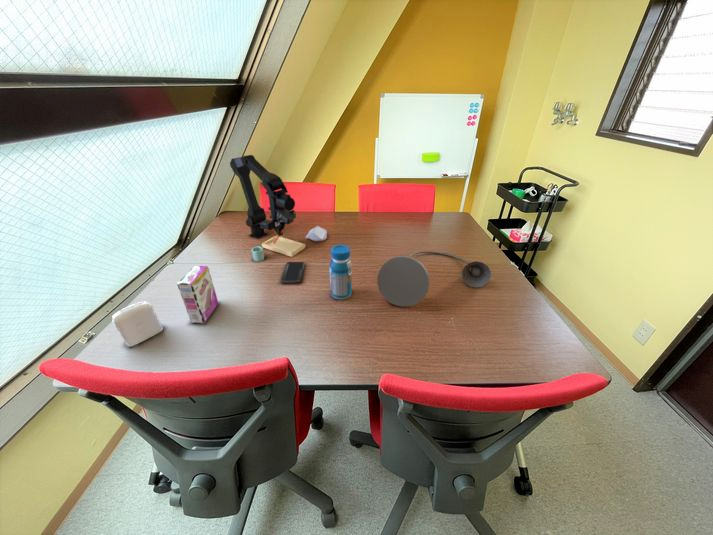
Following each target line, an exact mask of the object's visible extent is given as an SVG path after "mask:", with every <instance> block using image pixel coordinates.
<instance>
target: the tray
mask: <svg viewBox="0 0 713 535" xmlns="http://www.w3.org/2000/svg"><path fill="white" fill-rule="evenodd" d="M277 236H278V235H274V236H273V237H271V238H269V239H268V240H266V241H264V242H262V243H261V247H262V248H263V249H266V250H268V251H269V250H270V251H273V252H276V253H279V254H282V255H285V256H288V257H291V258H293V257H294V256H296V255H297V254H298V253H300V252H301V251H303V250H304V249H306V243H304V242H300V241H297V240H293V239H290V238H287V237H284V236H279V238H278V239H277V241H276V242H275V244H274V241H275V239H276V238H277Z"/></svg>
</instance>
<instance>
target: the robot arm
mask: <svg viewBox="0 0 713 535" xmlns="http://www.w3.org/2000/svg"><path fill="white" fill-rule="evenodd" d="M229 166H230V168H231V170H232V172H233V173H234V175H235V176H237V178H238V179H239V182H240V185H241V188H242V191H243V194H244V197H245V200H246V203H247V212H246V215H247V218H246V220H245V225H246V226H247V227H249V228H250V232H251V234H249V237H252V238H256V239H261V238H262V237H264V236H266V235H267V232H265V230H266V231H272V230H274V232H275V233H276V234H277V236H280V237H283V235H284V230H285V227H286V225H288V226H289V225H290V224H291V223H294V221H295V219H297V213H296V210H295V209H294V208H295V206H296V201H295V199H294V198H293V197H291V194H289V191H288V189H287V186H286V185H285V183H284V181H283V180H282V178H281V177H280V176H279V175H278V174H276V173H273V172H270V171H268V170H267V169H266V168H265V166H263V165H262V164H261V162H259V161H258V160H257V159H256V158H255V155H253V154H248V155H247V154H246V155H243V156H240V157H234V158H231V160H230V162H229ZM251 172H252V173H253V174H254V175H255V176H256V177H257V178H258V179H260V181H261V185H262V186H263V188H264V189H265V190H266V191H265V195H267V196H268V202H269V207H268V211H270V215H269V219H267V214H266V211H265V209H264V208H263V207H262V206H261V205H259V202H258V199H257V196H256V193H255V189H254V186H253V183H252V180H251V176H250V175H251ZM282 229H283V232H282V233H281V230H282Z"/></svg>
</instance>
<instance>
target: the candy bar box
mask: <svg viewBox="0 0 713 535" xmlns="http://www.w3.org/2000/svg"><path fill="white" fill-rule="evenodd" d="M176 285H177V289H178V291H179V293H180V296H181V299H182V302H183V305H184V306H185V307H184V308H185V310H186V313H187V316H188V318H189V321H190V323H191V324H205V323H206V322H207V321H208V319H209V318H210V316H211V314H212V313H213V312H214V311H215V309H216V307H217V306H218V305H219V300H218V297H217V293H216V289H215V286H214V282H213V279H212V276H211V272H210V268H209V266H208V265H194V266H193V267H192V268H191V269H190V270H189V271H188V272H187V273H186V274H185V275H184V276H183V277H182V278H181V279H180V280H179V281H178V282H177V283H176Z"/></svg>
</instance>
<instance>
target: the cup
mask: <svg viewBox="0 0 713 535" xmlns="http://www.w3.org/2000/svg"><path fill="white" fill-rule="evenodd" d="M251 253H252V260H253V261H255V262H261V261H264V259H265V254H264V253H265V252H264V248H263V247H262V246H254V247H252V248H251Z"/></svg>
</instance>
